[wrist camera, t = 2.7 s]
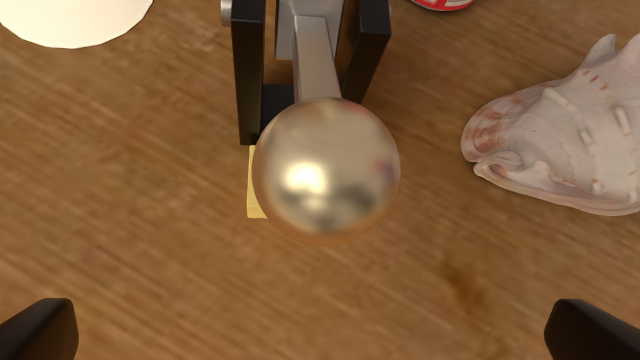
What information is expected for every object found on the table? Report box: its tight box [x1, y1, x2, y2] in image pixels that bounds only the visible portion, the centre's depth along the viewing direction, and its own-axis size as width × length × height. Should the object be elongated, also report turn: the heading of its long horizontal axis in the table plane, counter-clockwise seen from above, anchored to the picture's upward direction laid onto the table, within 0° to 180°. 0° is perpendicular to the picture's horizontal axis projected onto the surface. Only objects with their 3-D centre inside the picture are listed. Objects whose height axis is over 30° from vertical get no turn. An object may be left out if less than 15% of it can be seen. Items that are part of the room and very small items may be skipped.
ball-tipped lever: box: [251, 0, 401, 246], centre depth 12 cm, size 12×3×3 cm, turn 1°
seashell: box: [460, 33, 640, 216], centre depth 20 cm, size 10×12×9 cm
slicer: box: [221, 0, 392, 146], centre depth 18 cm, size 4×6×10 cm
